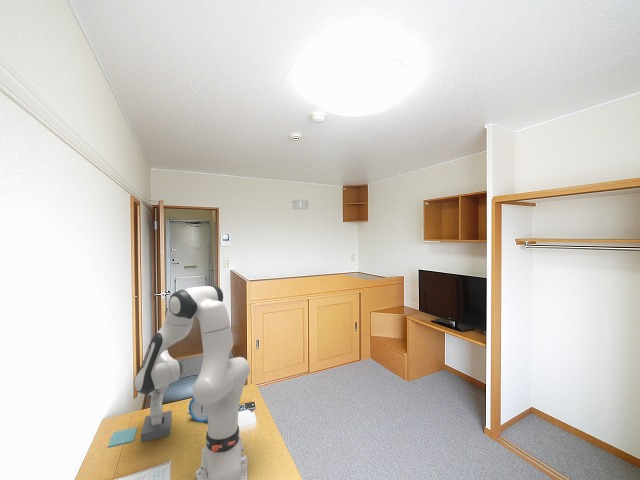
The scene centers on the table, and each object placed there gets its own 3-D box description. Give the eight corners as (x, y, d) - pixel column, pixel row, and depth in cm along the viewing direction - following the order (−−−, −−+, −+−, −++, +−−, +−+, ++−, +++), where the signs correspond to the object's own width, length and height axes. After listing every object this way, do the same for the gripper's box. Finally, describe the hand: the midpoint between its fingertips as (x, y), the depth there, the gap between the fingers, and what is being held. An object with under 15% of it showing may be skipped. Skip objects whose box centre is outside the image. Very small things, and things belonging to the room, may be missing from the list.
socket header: (169, 436, 124) (169, 427, 124) (140, 443, 119) (140, 434, 120) (171, 418, 137) (171, 410, 137) (145, 424, 132) (145, 416, 132)
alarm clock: (188, 422, 134) (188, 390, 135) (195, 414, 140) (195, 384, 141) (213, 424, 133) (214, 392, 133) (219, 416, 139) (220, 386, 139)
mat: (133, 442, 120) (133, 440, 120) (107, 449, 116) (107, 446, 116) (137, 428, 129) (137, 426, 129) (113, 434, 125) (113, 432, 125)
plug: (161, 430, 127) (161, 404, 127) (151, 432, 125) (151, 406, 126) (162, 425, 131) (162, 400, 131) (152, 427, 129) (152, 402, 129)
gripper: (163, 394, 120) (162, 426, 120) (167, 374, 139) (166, 402, 139) (146, 397, 118) (145, 431, 117) (152, 377, 136) (151, 405, 136)
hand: (157, 415), depth 128 cm, fingers closed on plug, 4 cm apart
